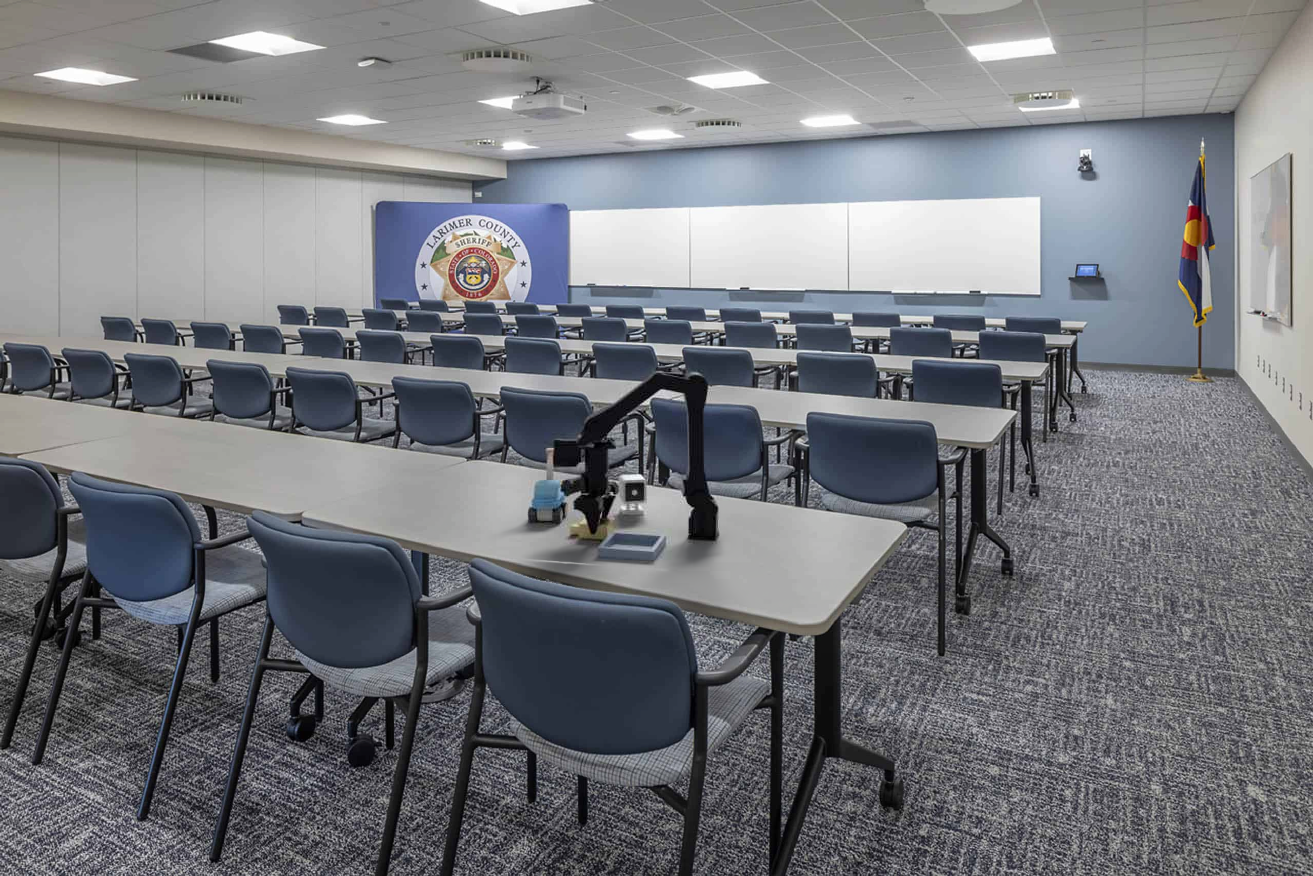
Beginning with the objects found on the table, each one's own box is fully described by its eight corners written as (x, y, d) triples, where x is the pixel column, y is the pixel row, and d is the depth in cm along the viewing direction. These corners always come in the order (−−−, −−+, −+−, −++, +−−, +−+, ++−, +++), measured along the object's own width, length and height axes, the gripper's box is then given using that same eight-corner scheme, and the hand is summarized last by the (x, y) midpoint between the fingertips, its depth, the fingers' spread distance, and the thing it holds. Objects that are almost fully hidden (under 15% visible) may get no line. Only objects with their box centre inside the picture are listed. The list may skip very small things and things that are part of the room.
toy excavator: (572, 509, 250) (571, 446, 247) (560, 526, 234) (559, 459, 231) (541, 508, 251) (540, 446, 248) (526, 525, 235) (525, 459, 231)
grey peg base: (620, 533, 228) (620, 517, 227) (610, 544, 219) (610, 527, 218) (584, 531, 230) (584, 515, 229) (573, 541, 221) (573, 525, 220)
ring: (615, 531, 227) (614, 517, 226) (607, 540, 220) (607, 525, 219) (575, 529, 229) (575, 515, 228) (567, 537, 222) (566, 523, 222)
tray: (665, 545, 218) (666, 535, 218) (653, 562, 206) (653, 551, 205) (612, 541, 221) (612, 531, 221) (597, 558, 209) (597, 547, 208)
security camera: (622, 517, 242) (622, 480, 240) (618, 510, 249) (618, 474, 247) (646, 516, 243) (646, 479, 241) (641, 509, 250) (641, 473, 248)
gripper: (575, 457, 232) (576, 517, 235) (551, 473, 214) (552, 538, 217) (619, 459, 229) (619, 520, 232) (598, 476, 212) (598, 542, 214)
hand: (597, 530), depth 224 cm, fingers closed on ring, 7 cm apart
